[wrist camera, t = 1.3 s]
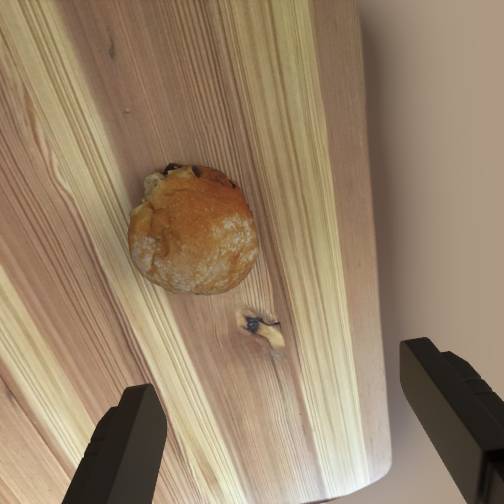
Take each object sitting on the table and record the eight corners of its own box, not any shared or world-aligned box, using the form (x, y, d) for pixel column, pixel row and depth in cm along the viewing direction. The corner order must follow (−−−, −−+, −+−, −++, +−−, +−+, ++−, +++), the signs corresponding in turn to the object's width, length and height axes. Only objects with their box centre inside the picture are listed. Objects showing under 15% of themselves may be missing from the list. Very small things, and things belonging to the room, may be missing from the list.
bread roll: (154, 250, 31) (140, 324, 26) (115, 155, 24) (85, 233, 18) (256, 241, 32) (264, 313, 26) (251, 145, 24) (260, 219, 18)
